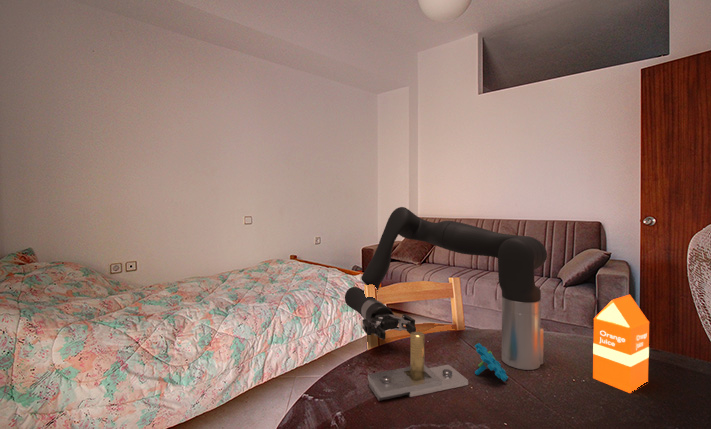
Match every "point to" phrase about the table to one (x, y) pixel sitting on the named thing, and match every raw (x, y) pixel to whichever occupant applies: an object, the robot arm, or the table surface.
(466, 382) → the bolted metal plate
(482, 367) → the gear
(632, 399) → the table surface
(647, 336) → the orange juice
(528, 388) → the table surface
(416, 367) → the brass pin
